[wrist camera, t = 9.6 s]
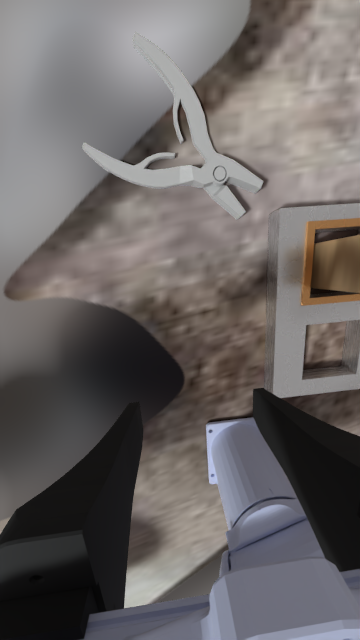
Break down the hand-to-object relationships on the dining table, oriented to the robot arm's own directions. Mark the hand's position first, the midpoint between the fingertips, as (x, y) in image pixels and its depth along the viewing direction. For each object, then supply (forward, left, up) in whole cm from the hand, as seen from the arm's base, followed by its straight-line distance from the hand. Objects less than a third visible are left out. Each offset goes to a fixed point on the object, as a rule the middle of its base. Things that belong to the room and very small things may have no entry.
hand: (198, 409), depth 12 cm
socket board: (+3, -16, -10) cm, 19 cm away
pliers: (+19, -1, -11) cm, 22 cm away
